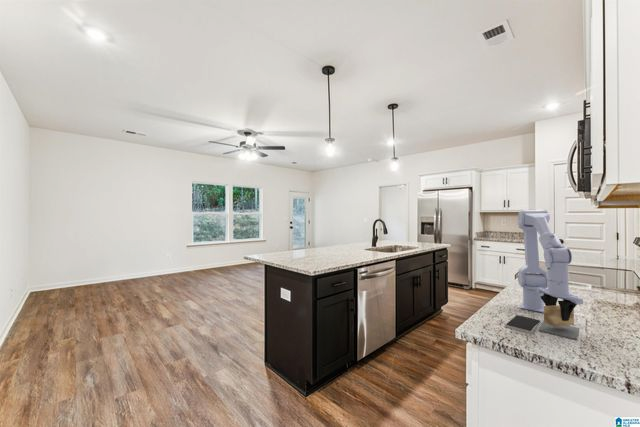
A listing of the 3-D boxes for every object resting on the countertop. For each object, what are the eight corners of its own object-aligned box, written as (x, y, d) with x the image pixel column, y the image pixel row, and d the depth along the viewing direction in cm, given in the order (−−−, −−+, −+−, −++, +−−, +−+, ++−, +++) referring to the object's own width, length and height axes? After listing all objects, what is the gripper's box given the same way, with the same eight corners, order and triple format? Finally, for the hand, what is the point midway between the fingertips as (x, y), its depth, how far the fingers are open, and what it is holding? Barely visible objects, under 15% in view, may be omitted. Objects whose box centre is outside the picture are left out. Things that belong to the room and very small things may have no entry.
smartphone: (541, 320, 104) (532, 331, 94) (541, 323, 104) (532, 334, 94) (516, 314, 110) (505, 324, 100) (516, 317, 110) (505, 327, 100)
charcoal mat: (543, 321, 104) (543, 320, 104) (578, 328, 97) (578, 327, 97) (538, 331, 96) (538, 329, 96) (577, 340, 88) (577, 338, 88)
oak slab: (543, 322, 98) (543, 306, 98) (562, 320, 99) (561, 304, 99) (555, 326, 94) (554, 309, 94) (574, 325, 95) (573, 308, 95)
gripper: (590, 285, 90) (591, 325, 90) (547, 275, 104) (547, 310, 104) (572, 286, 89) (573, 326, 89) (531, 276, 103) (532, 311, 103)
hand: (558, 318), depth 96 cm, fingers closed on oak slab, 4 cm apart
